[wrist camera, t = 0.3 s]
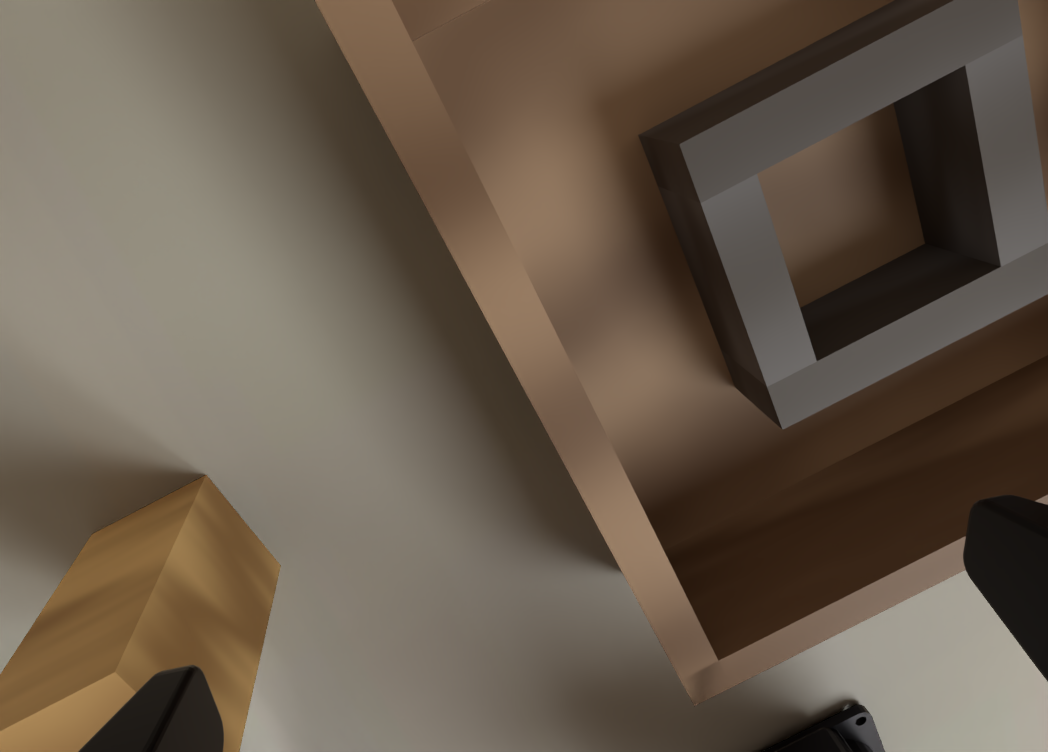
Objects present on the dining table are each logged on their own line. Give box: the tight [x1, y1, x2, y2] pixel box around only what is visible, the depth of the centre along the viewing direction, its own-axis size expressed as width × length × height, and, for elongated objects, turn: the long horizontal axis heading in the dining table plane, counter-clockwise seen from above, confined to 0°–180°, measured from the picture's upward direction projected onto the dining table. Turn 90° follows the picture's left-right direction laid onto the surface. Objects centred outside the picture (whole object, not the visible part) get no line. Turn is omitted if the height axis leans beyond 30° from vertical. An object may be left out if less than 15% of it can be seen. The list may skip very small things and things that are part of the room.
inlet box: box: [315, 0, 1048, 706], centre depth 19 cm, size 20×20×6 cm
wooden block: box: [0, 475, 281, 752], centre depth 19 cm, size 4×4×8 cm
